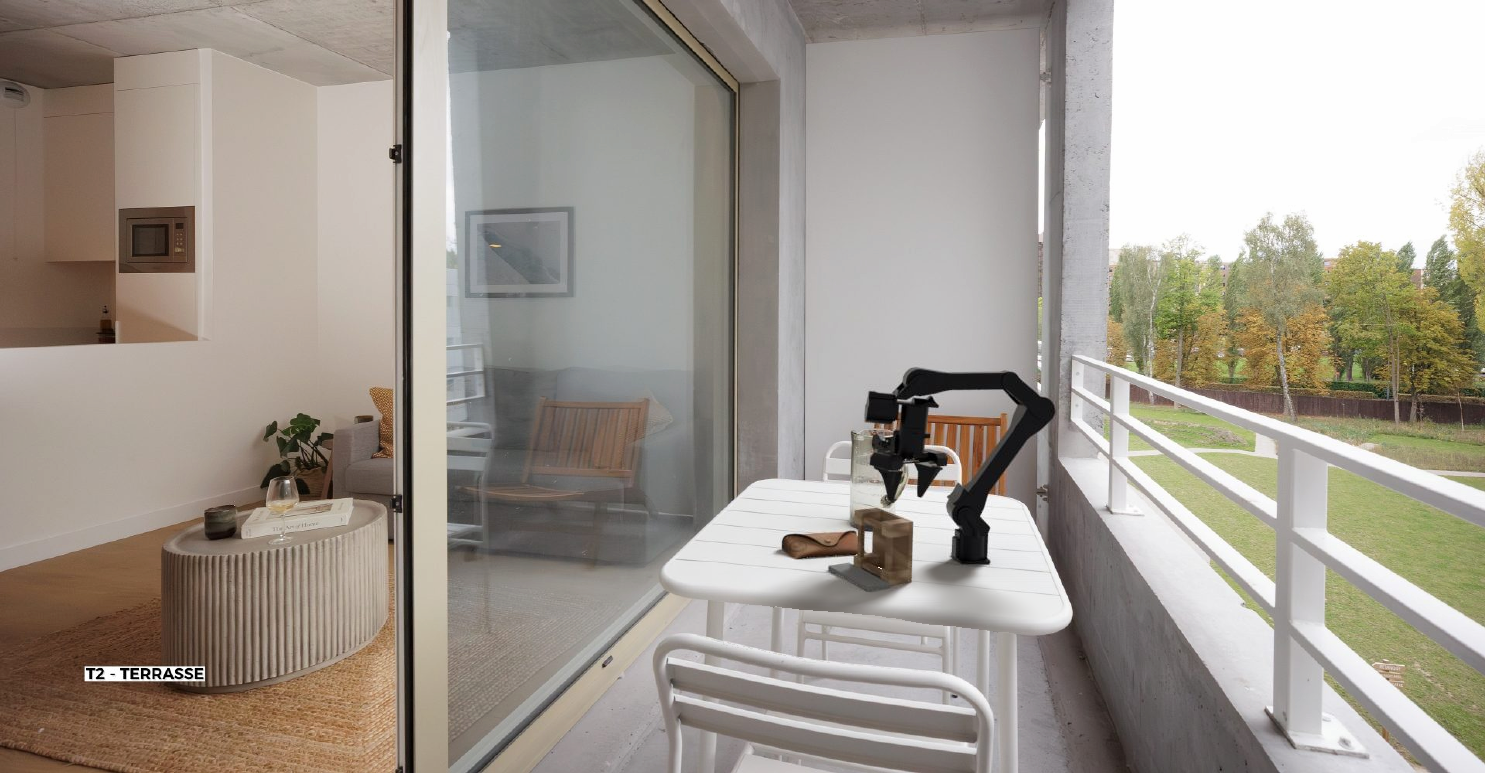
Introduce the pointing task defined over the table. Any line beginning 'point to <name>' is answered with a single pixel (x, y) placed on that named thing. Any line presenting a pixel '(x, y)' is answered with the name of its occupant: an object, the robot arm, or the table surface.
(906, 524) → the wood grain block
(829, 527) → the table surface
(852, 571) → the strip
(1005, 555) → the table surface
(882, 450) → the robot arm
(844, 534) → the sunglasses case
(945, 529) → the table surface
